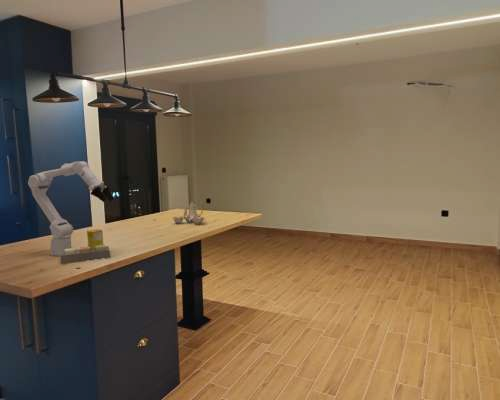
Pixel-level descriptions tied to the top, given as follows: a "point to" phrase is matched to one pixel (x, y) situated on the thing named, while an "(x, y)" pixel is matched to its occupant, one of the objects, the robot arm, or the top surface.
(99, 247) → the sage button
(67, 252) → the cream button
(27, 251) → the top surface
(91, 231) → the supplement box
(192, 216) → the chinaware
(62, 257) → the console
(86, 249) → the terracotta button
